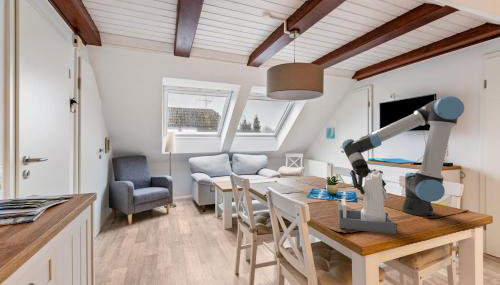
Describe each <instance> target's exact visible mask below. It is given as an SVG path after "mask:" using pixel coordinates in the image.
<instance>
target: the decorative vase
mask: <svg viewBox="0 0 500 285" xmlns="http://www.w3.org/2000/svg"><path fill="white" fill-rule="evenodd" d="M382 179H383V176H382V173H381V171H377V169H375V171H373V172H372V173H368V176H366V178H365V177H364V185H363V186H364V187H365V189H366V191H367V193H368V195H369V197H370V198H369V200H368V201H366V200H365V198H364V196H363V195H362V196H363V200H362V201H363V202H362V209H361V210H360V211H361V220H370V221H381V222H386V214H385V213H386V212H385V200H384V195H383V192H382Z"/></svg>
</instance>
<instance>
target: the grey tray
mask: <svg viewBox="0 0 500 285" xmlns="http://www.w3.org/2000/svg"><path fill="white" fill-rule="evenodd" d="M337 206H338V207H337V211H338V212H337V215H338V216H337V217H338V228H339V229H341V228H346V229H345V230H351V229H355V230H354V231H360V232H361V231H364V232H372V233H382V234H383V233H384V234H393V235H397V223H396V222H394V221H393V220H392V218H391V217H390V216H389V213H388V212H385V214H386V222H381V221H370V220H361V210H356V209H355V210H354V209H346V218H342V212H341V210H342V204H341V202H339V201H338V202H337Z"/></svg>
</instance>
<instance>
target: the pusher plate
mask: <svg viewBox="0 0 500 285" xmlns="http://www.w3.org/2000/svg"><path fill="white" fill-rule="evenodd" d="M341 209H342V210H341V212H342V218H346V210H347V202H346V199H345V198H341Z"/></svg>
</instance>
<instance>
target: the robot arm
mask: <svg viewBox="0 0 500 285" xmlns="http://www.w3.org/2000/svg"><path fill="white" fill-rule="evenodd" d="M464 112H465V105H464V102H463V101H462V100H461V99H460V98H459V97H456V96H452V95H448V96H441V97H440V98H438V99H435V100H432V101H430V102H428V103H427V104H425V105H423V106H422V107H420V108H418V109H416V110H414V111H413V113H412V114H409V115H408V116H405V117H404V118H401V119H398V120H397V121H394V122H392V123H390V124H388V125H386V126H384V127H382V128H379V129H378V130H375V131H373V132H371V133H369V134H366V135H364V136H363V135H362V136H361V137H360V138H359V139H357V140H354V139H352V138H350V139H345V140H344V141H343V142H342V144H341V146H342V149H343V151H344V153H345V156H346V157H347V160H348V161H349V163H350V165H351V168H352V170H351V171H350V172H349V175H350V176H351V181H352V185H353V188H354V189H356V190H358V191H359V192H360V194H361V195H362V196H364V198H365V200H366V201H368V200H369V198H370V197H369V195H368V193H367V191H366V189H365V187H364V185H363V179H365V178H366V176H368V173H372V172H373V171H375V170H376V169H370V168H369V165H368V163H367V161H366V159H365V158H364V155H363V153H364V152H367V151H370V150H373V149H375V148H379V147H380V146H382V143H383V142H385V141H387V140H389V139H391V138H394V137H396V136H399V135H401V134H403V133H405V132H408V131H410V130H412V129H414V128H418V127H419V126H425V125H430V127H429V130H428V135H427V139H426V144H425V148H424V153H423V157H422V161H421V165H420V169H419V170H418V171H416V172H406V173H405V177H404V180H405V182H404V183H405V186H404V187H405V189H404V190H405V194H404V195H405V197H404V201H403V203H402V205H401V211H402V212H404V213H406V214H410V215H414V216H421V217H429V216H428V215H432V216H434V215H435V209H434V207H433V205H432V203H433V202H437V201H439V200H441V199H442V198H443V197H444V196H445V193H446V189H445V187H444V185H443V183H444V179H445V178H444V176H443V175H442V170H443V166H444V161H445V157H446V154H447V148H448V145H449V140H450V136H451V132H452V128H454V127H455V126H457V123H458V120H459V118H460V117H461V116H462V115H463V114H464ZM386 185H387V183H386V181H385V180H384V179H383V178H382V192H383V195H384V201H387V199H388V198H389V196H388V194H387V189H386V188H385V186H386ZM433 214H434V215H433Z"/></svg>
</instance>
